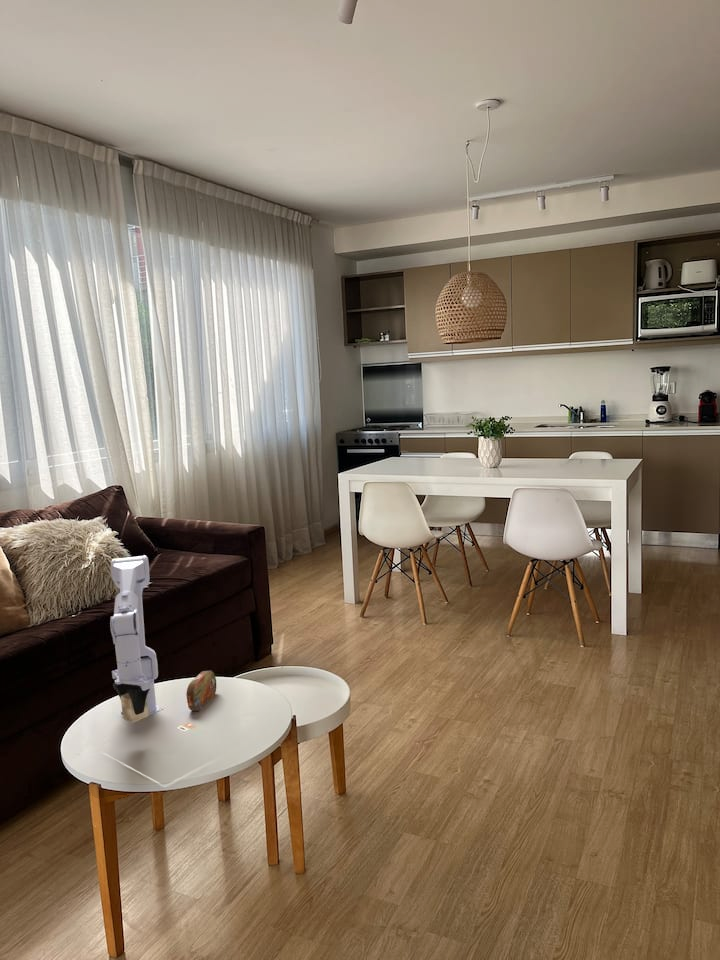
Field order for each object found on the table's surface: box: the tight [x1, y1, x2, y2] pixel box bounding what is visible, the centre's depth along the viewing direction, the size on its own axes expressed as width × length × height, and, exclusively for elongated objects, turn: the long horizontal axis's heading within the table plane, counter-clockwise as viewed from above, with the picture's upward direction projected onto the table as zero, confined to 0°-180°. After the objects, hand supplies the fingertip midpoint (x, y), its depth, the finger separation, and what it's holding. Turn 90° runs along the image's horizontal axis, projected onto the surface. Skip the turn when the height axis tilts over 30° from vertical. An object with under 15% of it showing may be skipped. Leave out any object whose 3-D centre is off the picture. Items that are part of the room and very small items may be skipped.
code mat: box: [176, 722, 196, 732], centre depth 188 cm, size 12×12×1 cm
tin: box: [185, 670, 217, 712], centre depth 202 cm, size 15×3×8 cm, turn 168°
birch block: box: [120, 693, 149, 724], centre depth 180 cm, size 4×4×6 cm
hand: (134, 710), depth 180 cm, fingers closed on birch block, 4 cm apart
